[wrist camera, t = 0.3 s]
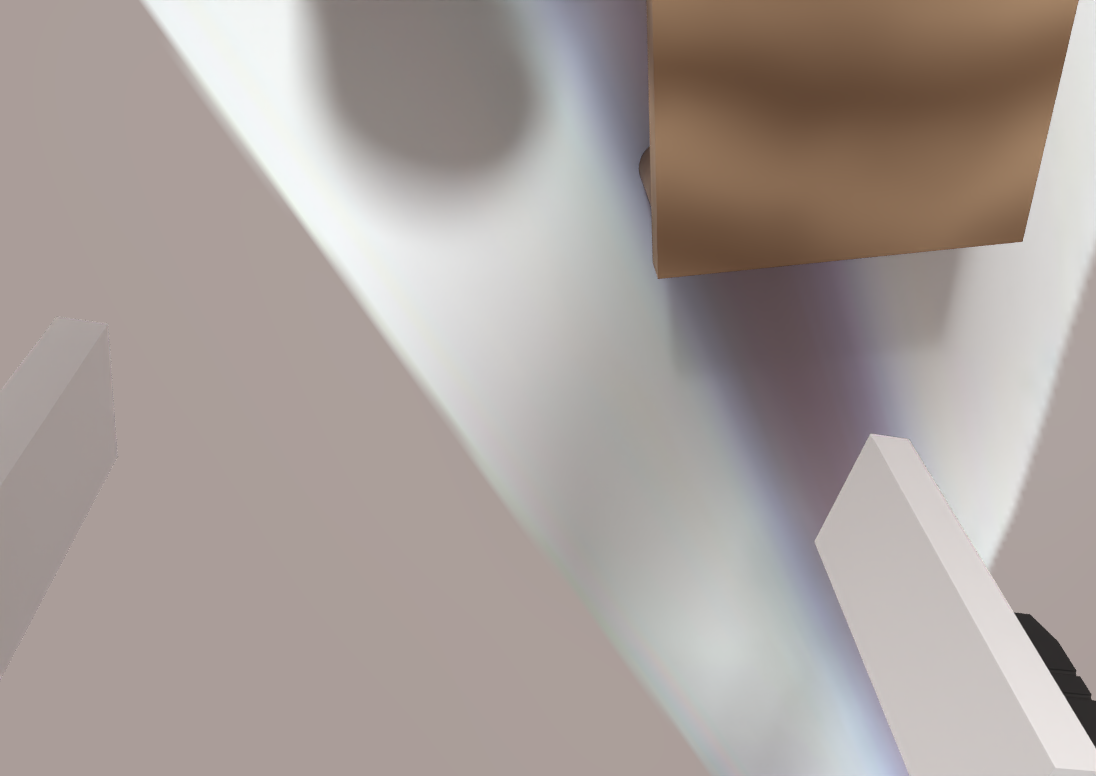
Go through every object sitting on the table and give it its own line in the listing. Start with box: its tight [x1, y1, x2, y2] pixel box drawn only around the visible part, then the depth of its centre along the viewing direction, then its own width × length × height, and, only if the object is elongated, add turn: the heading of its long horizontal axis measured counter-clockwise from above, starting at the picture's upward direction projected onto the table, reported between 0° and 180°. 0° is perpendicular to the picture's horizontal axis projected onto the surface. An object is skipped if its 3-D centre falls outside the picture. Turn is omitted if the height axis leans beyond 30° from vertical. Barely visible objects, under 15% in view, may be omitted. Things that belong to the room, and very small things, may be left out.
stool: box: [639, 0, 1079, 279], centre depth 34 cm, size 14×14×7 cm
